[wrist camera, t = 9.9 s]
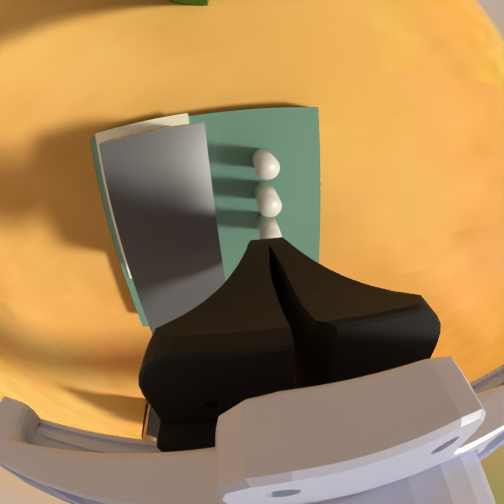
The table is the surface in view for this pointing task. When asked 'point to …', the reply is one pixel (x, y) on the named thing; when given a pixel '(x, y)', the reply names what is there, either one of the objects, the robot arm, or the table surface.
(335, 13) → the table surface
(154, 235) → the block
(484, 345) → the table surface
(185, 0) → the green and brown cylinder
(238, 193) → the header board
